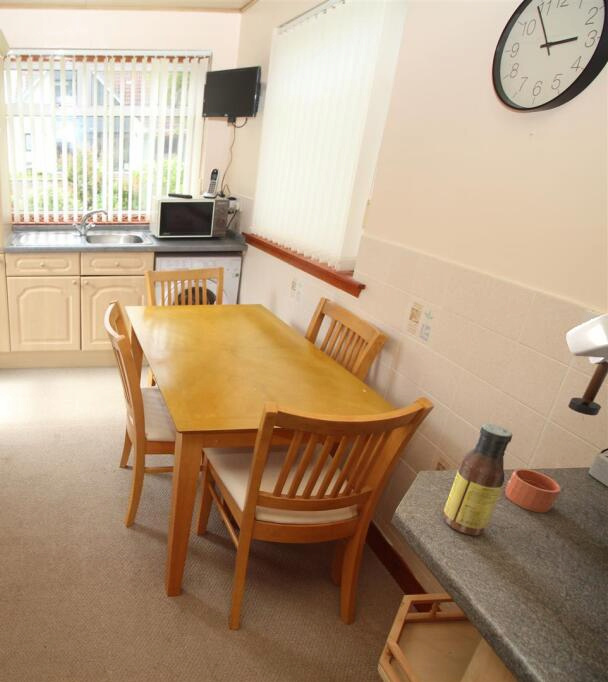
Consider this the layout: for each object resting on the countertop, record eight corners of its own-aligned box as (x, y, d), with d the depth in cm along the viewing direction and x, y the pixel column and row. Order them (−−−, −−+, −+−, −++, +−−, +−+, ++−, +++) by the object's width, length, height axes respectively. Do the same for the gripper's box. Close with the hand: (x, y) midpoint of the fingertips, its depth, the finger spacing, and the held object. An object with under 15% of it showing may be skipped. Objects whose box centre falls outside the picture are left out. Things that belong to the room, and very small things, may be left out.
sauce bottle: (490, 532, 84) (535, 438, 77) (468, 541, 82) (511, 445, 74) (453, 508, 90) (491, 417, 82) (431, 515, 88) (468, 423, 80)
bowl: (525, 488, 96) (535, 467, 94) (560, 512, 90) (571, 491, 88) (494, 489, 96) (504, 468, 94) (527, 514, 89) (538, 492, 87)
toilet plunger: (580, 404, 81) (623, 317, 75) (603, 415, 78) (650, 325, 72) (562, 404, 81) (603, 317, 75) (584, 415, 77) (629, 325, 71)
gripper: (772, 307, 64) (662, 346, 77) (615, 299, 65) (532, 338, 78) (795, 350, 62) (678, 383, 75) (632, 341, 63) (543, 374, 76)
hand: (602, 360), depth 76 cm, fingers closed on toilet plunger
